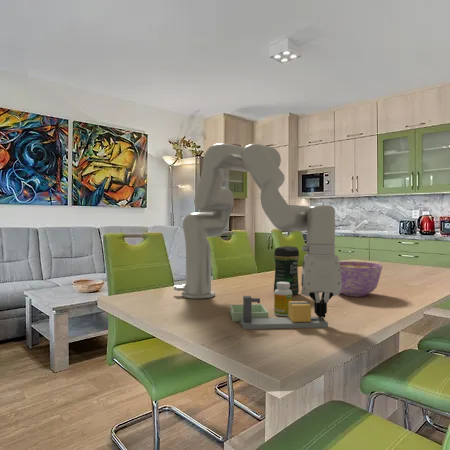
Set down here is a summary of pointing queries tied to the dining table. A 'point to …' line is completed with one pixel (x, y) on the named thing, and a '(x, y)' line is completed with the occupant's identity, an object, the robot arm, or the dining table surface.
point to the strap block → (299, 311)
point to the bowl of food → (359, 277)
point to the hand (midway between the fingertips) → (320, 316)
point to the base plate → (283, 323)
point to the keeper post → (248, 308)
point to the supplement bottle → (282, 298)
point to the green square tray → (257, 312)
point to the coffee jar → (287, 267)
